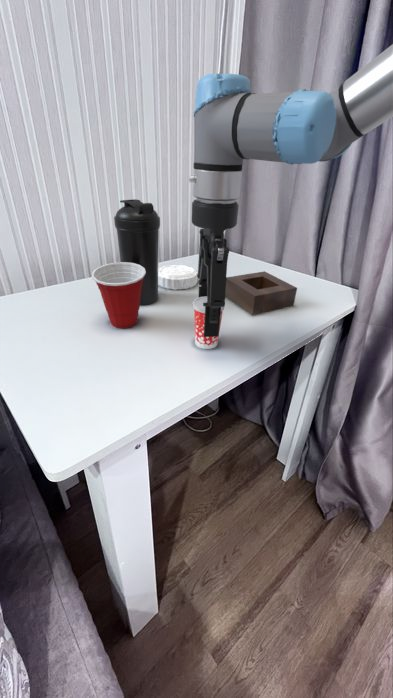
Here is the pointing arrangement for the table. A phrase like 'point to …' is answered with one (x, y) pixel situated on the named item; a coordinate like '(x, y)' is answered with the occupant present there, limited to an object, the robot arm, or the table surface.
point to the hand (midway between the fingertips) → (207, 325)
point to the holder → (260, 292)
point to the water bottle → (140, 243)
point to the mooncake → (177, 277)
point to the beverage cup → (199, 325)
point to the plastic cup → (120, 291)
